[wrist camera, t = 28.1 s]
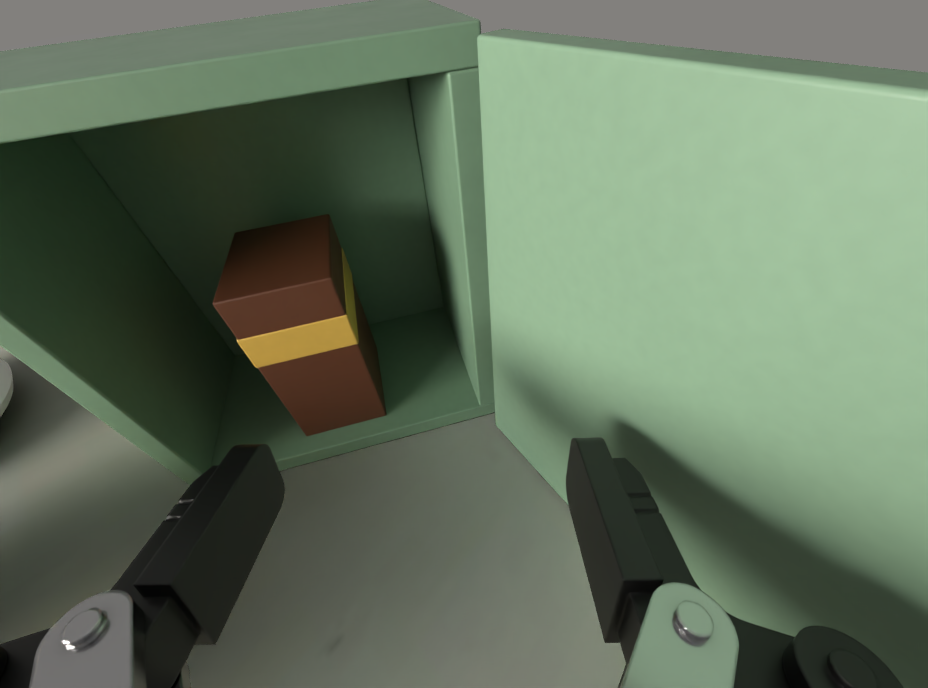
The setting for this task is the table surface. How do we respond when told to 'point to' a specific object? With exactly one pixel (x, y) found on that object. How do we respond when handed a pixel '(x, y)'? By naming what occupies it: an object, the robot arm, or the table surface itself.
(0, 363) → the flower in vase
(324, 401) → the chocolate box
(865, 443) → the cupboard door
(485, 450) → the table surface
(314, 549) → the table surface
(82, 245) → the cupboard
